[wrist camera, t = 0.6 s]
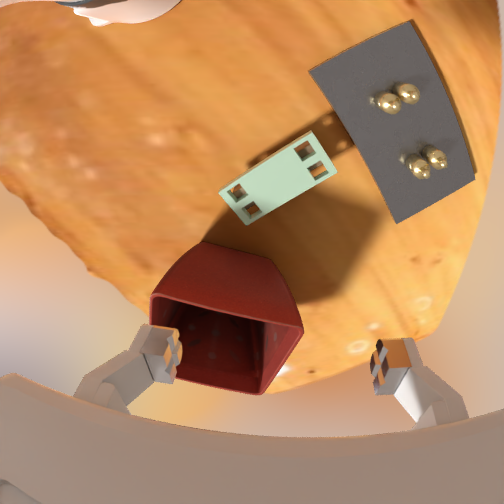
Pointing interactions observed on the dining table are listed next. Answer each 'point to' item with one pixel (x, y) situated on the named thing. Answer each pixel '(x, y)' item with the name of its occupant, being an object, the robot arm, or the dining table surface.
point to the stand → (303, 151)
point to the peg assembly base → (398, 119)
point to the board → (277, 179)
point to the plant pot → (228, 317)
